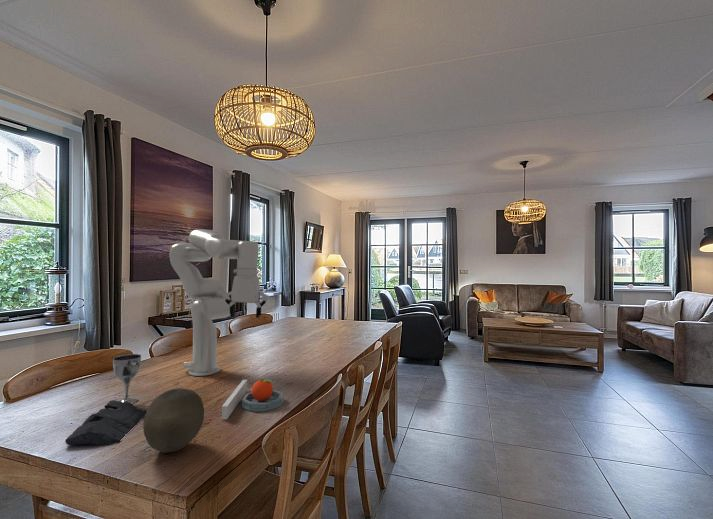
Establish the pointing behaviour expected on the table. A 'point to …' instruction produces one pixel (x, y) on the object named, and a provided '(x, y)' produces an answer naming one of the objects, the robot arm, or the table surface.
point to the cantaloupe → (173, 419)
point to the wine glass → (127, 371)
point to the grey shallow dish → (262, 402)
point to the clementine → (262, 390)
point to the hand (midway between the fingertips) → (245, 316)
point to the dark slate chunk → (107, 424)
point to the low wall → (234, 400)
